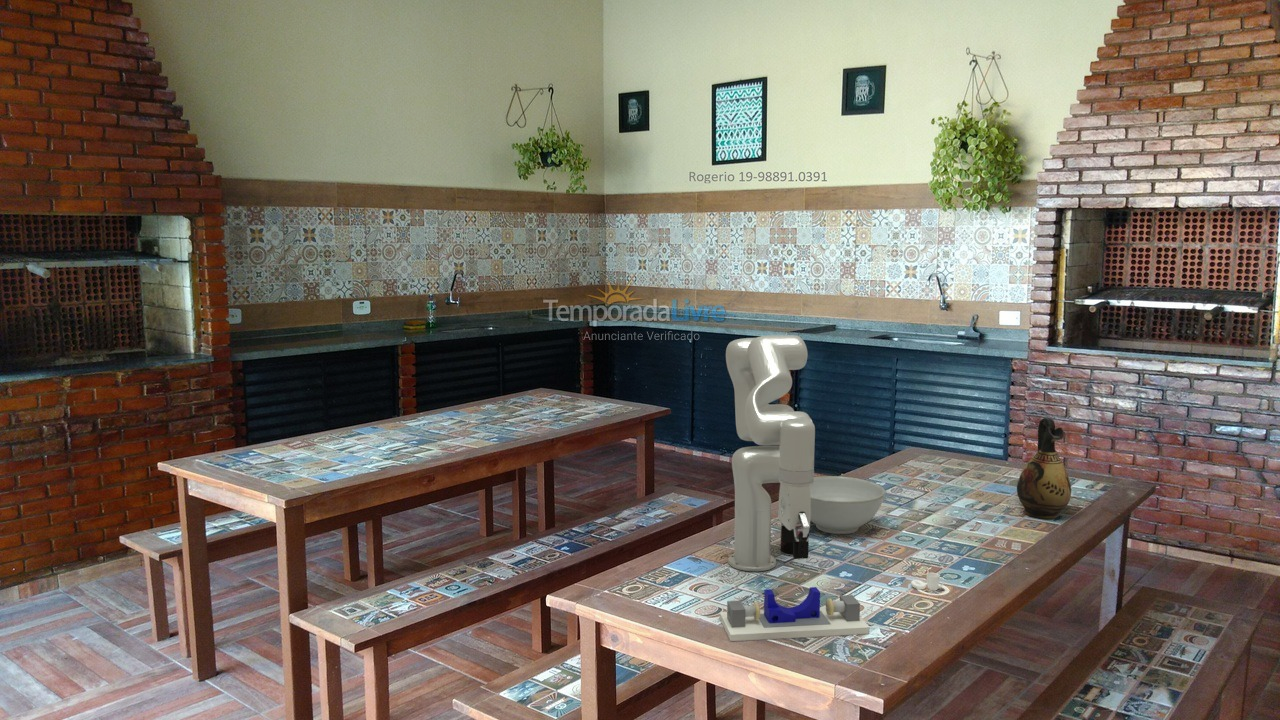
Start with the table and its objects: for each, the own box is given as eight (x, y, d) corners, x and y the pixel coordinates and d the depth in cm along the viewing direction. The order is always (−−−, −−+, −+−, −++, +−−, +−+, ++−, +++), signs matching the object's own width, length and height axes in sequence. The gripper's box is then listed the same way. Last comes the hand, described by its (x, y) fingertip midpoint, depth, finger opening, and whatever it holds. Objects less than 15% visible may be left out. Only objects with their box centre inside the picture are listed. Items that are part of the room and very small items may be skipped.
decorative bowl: (876, 515, 288) (877, 477, 286) (890, 544, 262) (892, 502, 260) (788, 512, 291) (789, 474, 289) (794, 541, 264) (795, 500, 263)
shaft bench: (719, 618, 213) (719, 594, 212) (850, 611, 216) (851, 587, 216) (730, 641, 201) (730, 615, 200) (869, 633, 205) (870, 608, 204)
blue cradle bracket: (769, 623, 206) (769, 597, 205) (763, 615, 210) (764, 589, 210) (821, 620, 207) (822, 594, 207) (815, 612, 212) (816, 586, 211)
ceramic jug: (1078, 522, 280) (1085, 425, 276) (1026, 522, 281) (1032, 425, 276) (1054, 505, 297) (1060, 413, 293) (1006, 505, 297) (1011, 413, 293)
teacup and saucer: (906, 589, 230) (907, 573, 230) (923, 581, 236) (923, 565, 235) (939, 599, 224) (939, 583, 224) (955, 590, 230) (956, 575, 229)
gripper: (769, 465, 212) (767, 537, 214) (790, 487, 195) (788, 565, 197) (801, 464, 213) (799, 536, 215) (825, 486, 196) (822, 563, 198)
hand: (794, 550), depth 206 cm, fingers open, 9 cm apart
